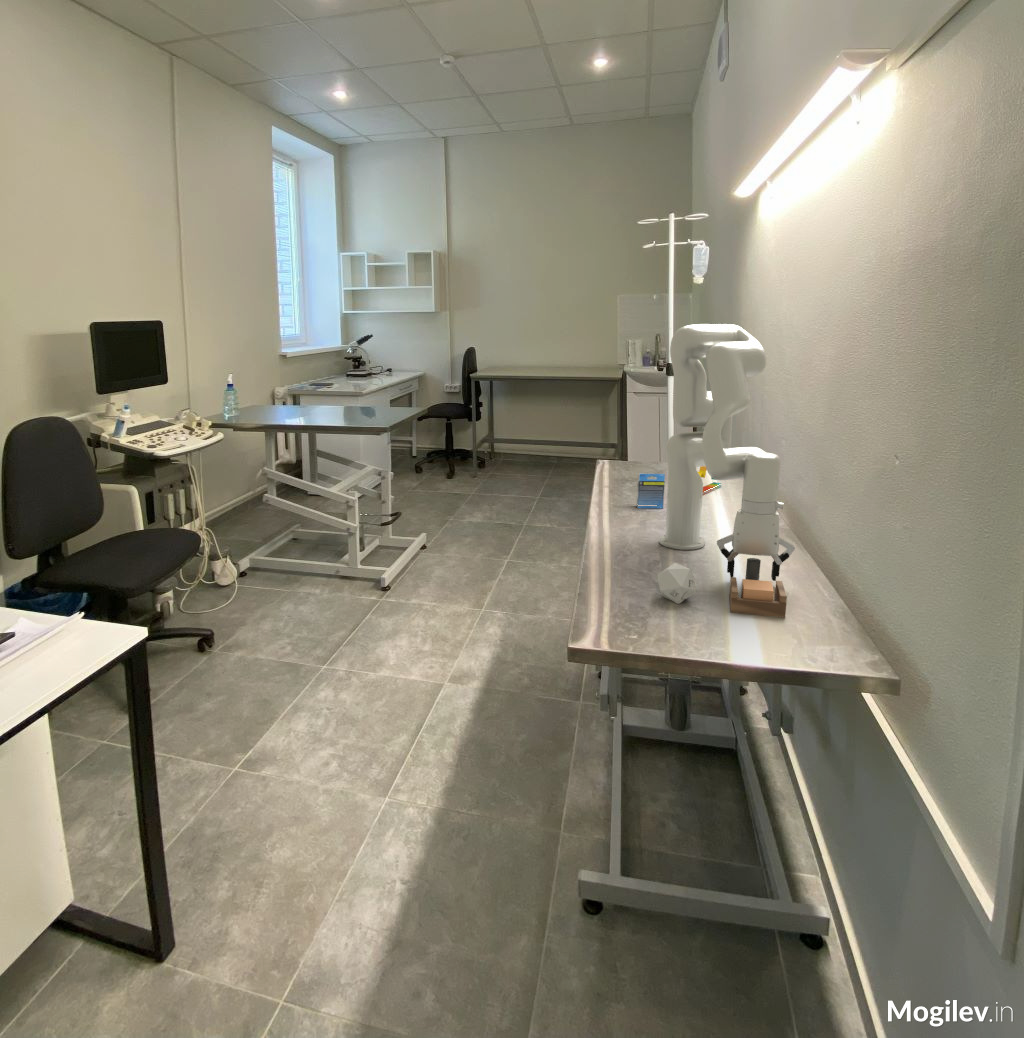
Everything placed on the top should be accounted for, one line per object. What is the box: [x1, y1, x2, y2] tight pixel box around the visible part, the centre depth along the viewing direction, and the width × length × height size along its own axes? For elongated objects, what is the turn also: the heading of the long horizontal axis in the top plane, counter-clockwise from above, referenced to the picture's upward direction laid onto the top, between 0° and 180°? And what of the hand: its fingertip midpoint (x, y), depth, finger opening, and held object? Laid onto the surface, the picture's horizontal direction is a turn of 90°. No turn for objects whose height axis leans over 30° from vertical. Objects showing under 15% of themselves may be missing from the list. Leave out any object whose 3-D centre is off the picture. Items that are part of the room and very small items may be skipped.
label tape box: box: [636, 473, 666, 509], centre depth 225 cm, size 9×4×12 cm, turn 84°
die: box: [656, 562, 698, 605], centre depth 146 cm, size 8×9×10 cm
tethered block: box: [740, 557, 775, 601], centre depth 147 cm, size 18×6×6 cm, turn 164°
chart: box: [697, 466, 722, 497], centre depth 243 cm, size 30×3×15 cm, turn 140°
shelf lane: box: [728, 576, 788, 618], centre depth 142 cm, size 10×11×4 cm
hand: (752, 577), depth 155 cm, fingers open, 9 cm apart
